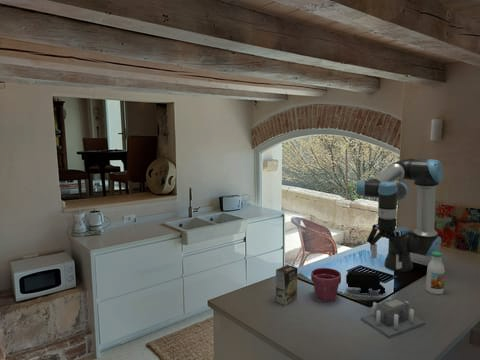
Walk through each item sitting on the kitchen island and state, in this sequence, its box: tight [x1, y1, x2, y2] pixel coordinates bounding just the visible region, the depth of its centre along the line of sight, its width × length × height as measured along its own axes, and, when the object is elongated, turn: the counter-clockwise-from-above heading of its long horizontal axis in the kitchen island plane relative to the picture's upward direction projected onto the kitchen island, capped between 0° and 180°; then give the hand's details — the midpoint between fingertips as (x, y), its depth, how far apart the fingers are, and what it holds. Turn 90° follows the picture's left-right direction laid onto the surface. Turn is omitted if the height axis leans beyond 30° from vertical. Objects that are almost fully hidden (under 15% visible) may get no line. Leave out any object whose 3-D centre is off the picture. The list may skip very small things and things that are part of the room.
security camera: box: [345, 270, 386, 296], centre depth 173 cm, size 7×18×10 cm, turn 78°
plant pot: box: [310, 267, 342, 303], centre depth 168 cm, size 14×14×13 cm
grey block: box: [377, 297, 410, 327], centre depth 146 cm, size 12×6×7 cm, turn 116°
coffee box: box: [275, 264, 298, 306], centre depth 167 cm, size 9×6×16 cm
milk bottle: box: [425, 251, 446, 295], centre depth 172 cm, size 8×8×20 cm
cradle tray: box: [360, 297, 426, 339], centre depth 147 cm, size 21×15×7 cm
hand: (385, 263), depth 155 cm, fingers open, 13 cm apart
